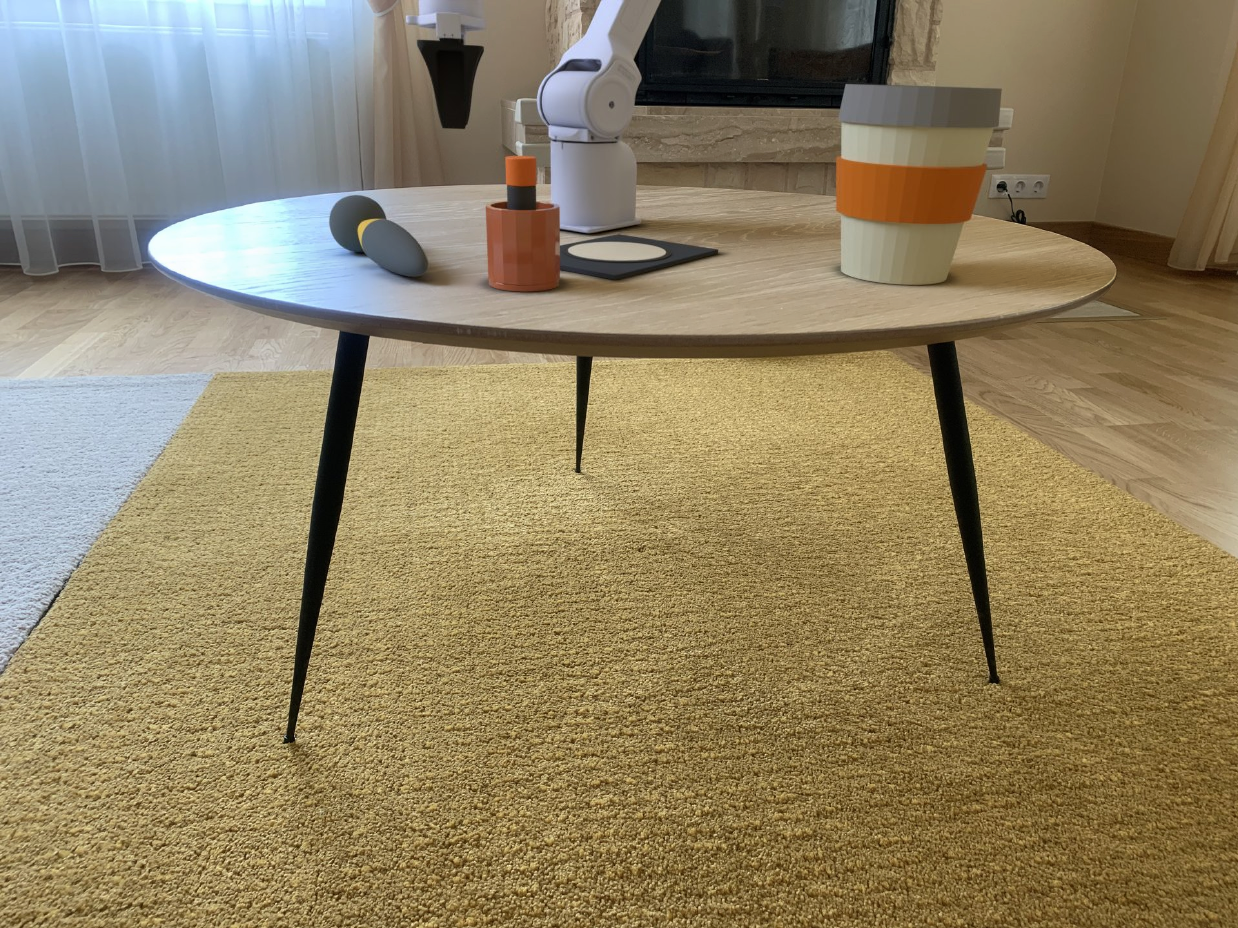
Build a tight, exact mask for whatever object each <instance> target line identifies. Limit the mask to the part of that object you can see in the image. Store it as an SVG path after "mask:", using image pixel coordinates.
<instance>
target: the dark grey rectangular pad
mask: <svg viewBox="0 0 1238 928" xmlns="http://www.w3.org/2000/svg"><path fill="white" fill-rule="evenodd" d="M717 254H719V249H718V248H712V247H706V246H700V245H699V246H698V245H692V244H687V243H686V244H685V243H681V242H680V243H679V242H672V241H666V240H660V239H652V238H647V237H641V236H633V235H629V234H628V235H626V234H621V233H617V234H611V235H606V236H601V237H597V238H592V239H591V238H590V239H587V240H581V241H576V242H570V243H565V244H560V271H565V272H570V273H571V272H572V273H577V274H582V275H587V276H592V277H597V278H603V279H607V280H613V281H617V280H620V279H625V278H629V277H633V276H636V275H640V274H644V273H648V272H653V271H656V270H660V269H663V268H668V267H671V266H675V265H678V264H682V263H687V262H690V261H695V260H698V259H702V258H706V257H710V256H714V255H717Z"/></svg>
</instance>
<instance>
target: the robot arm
mask: <svg viewBox="0 0 1238 928" xmlns="http://www.w3.org/2000/svg"><path fill="white" fill-rule="evenodd" d="M661 1H662V0H600V2H599V5H598V6H597V9H596V11H595V14H594V15H593V17H592V19H591V22H590V24H589V26H588V28H587V31H586V33H585V34H584V36H583V37H581V39H579V40H578V41H576V43H574V44H573V45H572V46H571V47H570V48H568V50H566V51H565V52H564V53H563V55H562V57H561V58H560V61H559V63H558V64H557V66H556V68H554V69H553V70H552V71H551V72H549V73H548V74H546V76H545V77H544V78H543V80H542V81H541V83H540V85H539V87H538V90H537V94H536V95H537V96H536V105H537V111H538V114H539V117H540V119H541V121H542V122H543V124H544V125H545V126H546V127H547V128H548V138H550V203H554V204H558V205H559V207H560V230H563V231H571V232H579V233H585V234H594V233H600V232H605V231H609V230H615V229H620V228H625V227H632V226H636V225H641V224H642V221H643V220H642V219H640V218H636V211H637V180H638V179H637V178H638V177H637V176H638V165H637V159H636V156H635V153H634V151H633V150H632V148H631V147H630V146H629V145H628V144H627V143H626V142H624V141H623V133H624V132H625V131H626V130H627V129H628V127H629V125H630V124H631V121H632V119H633V116H634V112H635V103H636V96H637V95H636V94H637V92H638V88H639V85H640V84H641V82H642V74H641V72H640V70H639V68H638V66H637V64H636V62H635V57H636V55H637V53H638V50H639V48H640V46H641V44H642V42H643V40H644V38H645V36H646V33H647V31H648V29H649V27H650V25H651V22H652V20H653V18H654V16H655V14H656V12H657V10H658V8H659V6H660V3H661ZM418 14H419V15H412V14H411V15H410V14H409V15H405V23H406V24H407V25H410V26H418V27H420V28H424V29H425V28H426V29H431V30H435V31H436V32H435V33H436V38H438V40H436V39H416V46H417V48H418V51H419V52H420V54H421V56H422V59H423V61H424V63H425V67H426V69H427V71H428V74H429V77H430V81H431V85H432V89H433V94H434V98H435V105H436V110H437V114H438V119H439V122H440V125H441V128H442V129H448V130H449V129H451V130H452V129H453V130H465V129H466V127H467V126H468V123H469V120H470V115H471V107H472V100H473V99H472V98H473V92H474V91H473V89H474V83H475V78H476V74H477V70H478V67H479V64H480V61H481V59H482V57H483V55H484V52H485V46H483V45H477V44H467V40H466V35H467V32H476V31H485V30H486V28H487V26H486V25H487V24H486V23H487V21H486V19H485V18H484V0H418Z"/></svg>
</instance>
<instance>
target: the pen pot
mask: <svg viewBox="0 0 1238 928" xmlns="http://www.w3.org/2000/svg"><path fill="white" fill-rule="evenodd" d="M485 224H486V225H485V227H486V252H487V254H486V255H487V277H488V285H489V287H492V288H494V289H497V290H501V291H506V292H507V291H508V292H521V293H523V292H525V293H527V292H542V291H549V290H551V289H554V288H557V287H559V286H560V284H561V283H560V281H561V270H560V245H561V229H560V207H559V205H558V204H554V203H551V202H548V201H540V200H536V210H508V209H507V200H499V201H493V202H492V201H491V202H489V203H486V204H485Z"/></svg>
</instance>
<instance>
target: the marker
mask: <svg viewBox="0 0 1238 928" xmlns="http://www.w3.org/2000/svg"><path fill="white" fill-rule="evenodd" d="M504 159H505V184H506V201H507V209H508V210H536V201H537V183H538V182H537V181H538V180H537V176H538V175H537V157H536V156H533V155H532V156H531V155H507V156H505V158H504Z"/></svg>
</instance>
